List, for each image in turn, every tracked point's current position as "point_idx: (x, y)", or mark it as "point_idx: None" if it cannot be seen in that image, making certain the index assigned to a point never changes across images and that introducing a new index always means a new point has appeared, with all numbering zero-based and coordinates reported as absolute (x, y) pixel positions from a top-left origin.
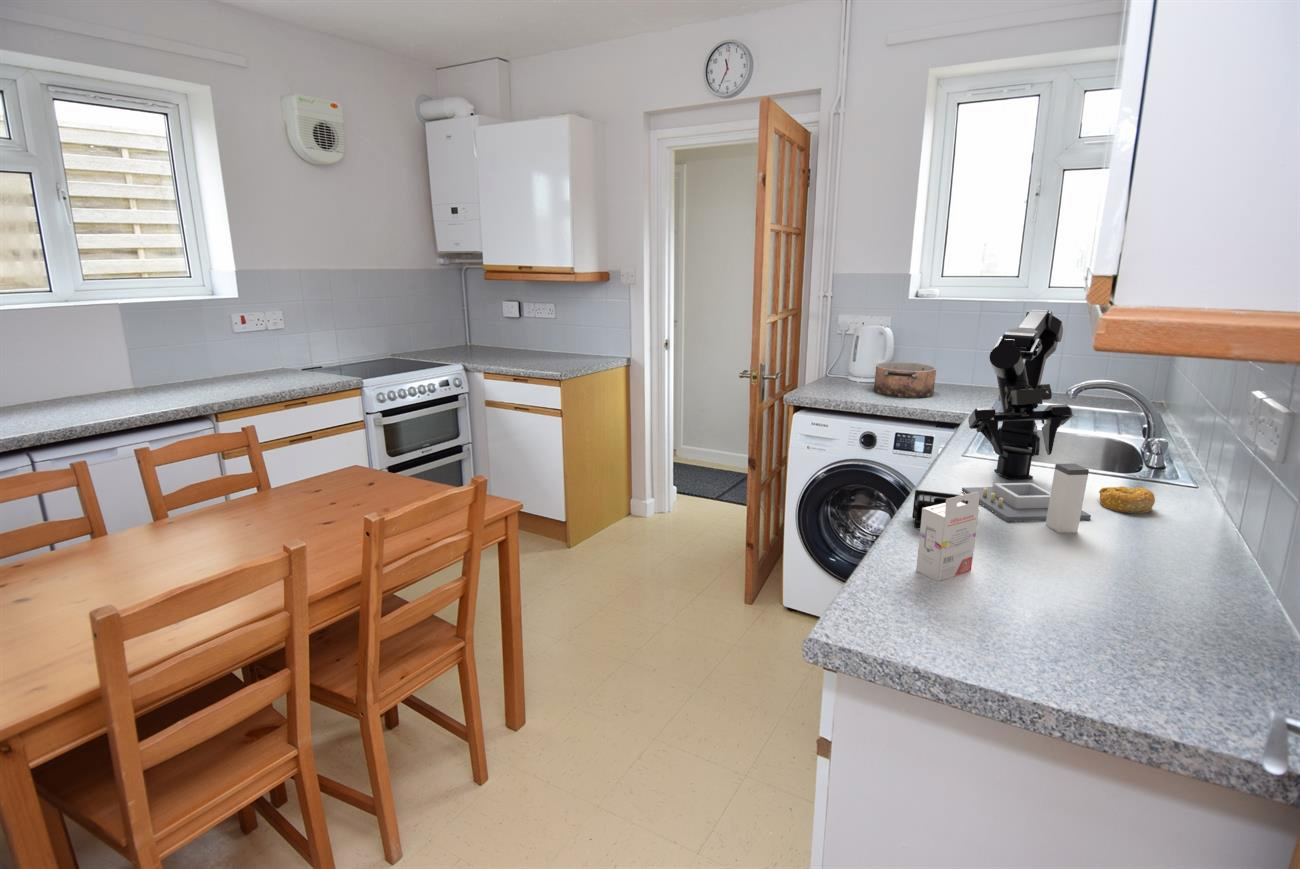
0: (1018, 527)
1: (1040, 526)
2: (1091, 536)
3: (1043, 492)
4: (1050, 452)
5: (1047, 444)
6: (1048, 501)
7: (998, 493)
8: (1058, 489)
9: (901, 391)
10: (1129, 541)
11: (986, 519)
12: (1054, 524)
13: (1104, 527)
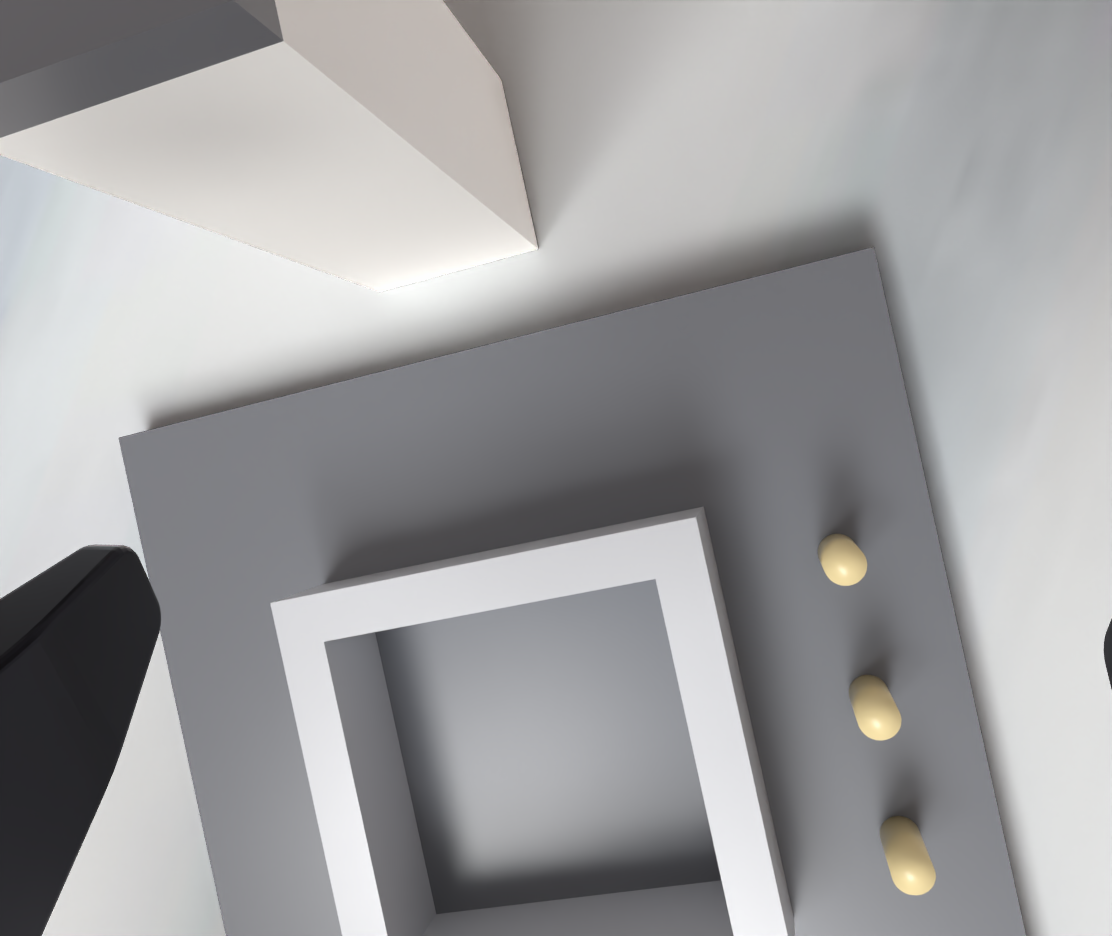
0: (805, 126)
1: (595, 197)
2: None
3: (351, 749)
4: (98, 550)
5: (16, 744)
6: (375, 577)
7: (770, 829)
8: (377, 7)
9: None
10: None
11: (1054, 278)
12: (501, 123)
13: (108, 286)
